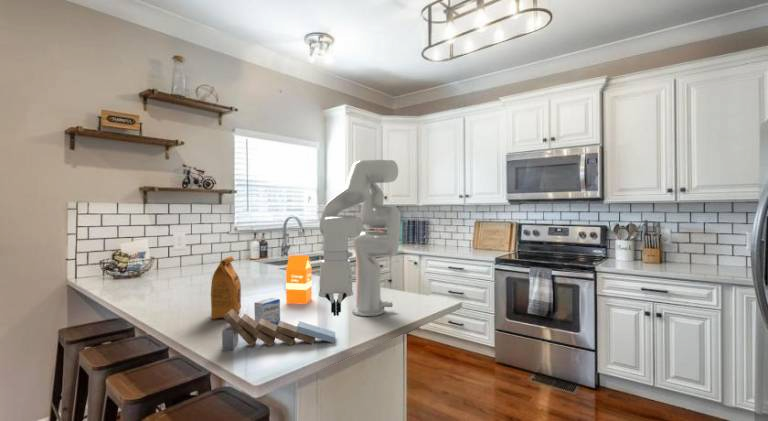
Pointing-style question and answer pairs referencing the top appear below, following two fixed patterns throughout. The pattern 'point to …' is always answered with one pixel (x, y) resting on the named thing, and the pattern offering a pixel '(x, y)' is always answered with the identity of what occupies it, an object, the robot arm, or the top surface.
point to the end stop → (229, 338)
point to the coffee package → (225, 290)
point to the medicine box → (268, 310)
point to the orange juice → (298, 280)
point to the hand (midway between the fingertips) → (336, 314)
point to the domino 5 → (315, 332)
